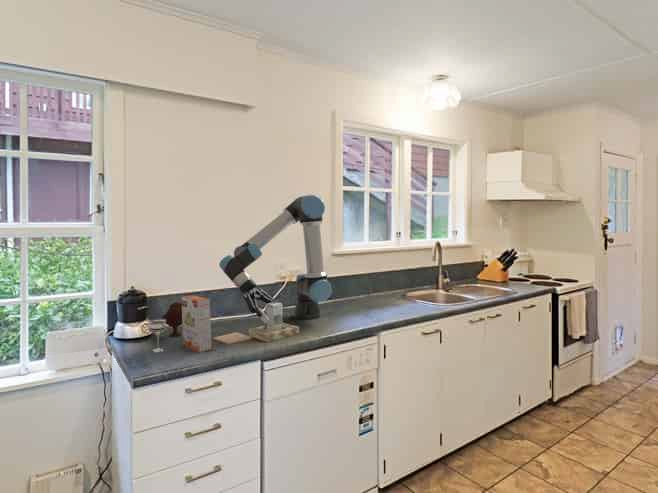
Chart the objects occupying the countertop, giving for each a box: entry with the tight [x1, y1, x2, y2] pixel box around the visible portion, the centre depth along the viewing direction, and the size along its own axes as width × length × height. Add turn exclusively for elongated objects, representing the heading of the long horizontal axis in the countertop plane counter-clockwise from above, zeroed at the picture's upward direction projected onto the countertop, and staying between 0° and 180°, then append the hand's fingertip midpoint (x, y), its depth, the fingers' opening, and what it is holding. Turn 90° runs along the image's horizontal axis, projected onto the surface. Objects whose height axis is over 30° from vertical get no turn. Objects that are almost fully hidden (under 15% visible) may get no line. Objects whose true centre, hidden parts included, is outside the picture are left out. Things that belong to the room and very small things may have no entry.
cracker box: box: [181, 294, 212, 354], centre depth 170 cm, size 14×6×21 cm, turn 45°
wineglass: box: [148, 318, 168, 353], centre depth 168 cm, size 7×7×12 cm
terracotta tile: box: [212, 331, 253, 346], centre depth 183 cm, size 12×12×1 cm
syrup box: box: [264, 301, 284, 332], centre depth 189 cm, size 6×6×14 cm
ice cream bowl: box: [161, 301, 183, 338], centre depth 189 cm, size 11×11×15 cm
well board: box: [248, 322, 300, 343], centre depth 189 cm, size 18×14×3 cm
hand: (274, 318), depth 188 cm, fingers open, 13 cm apart
